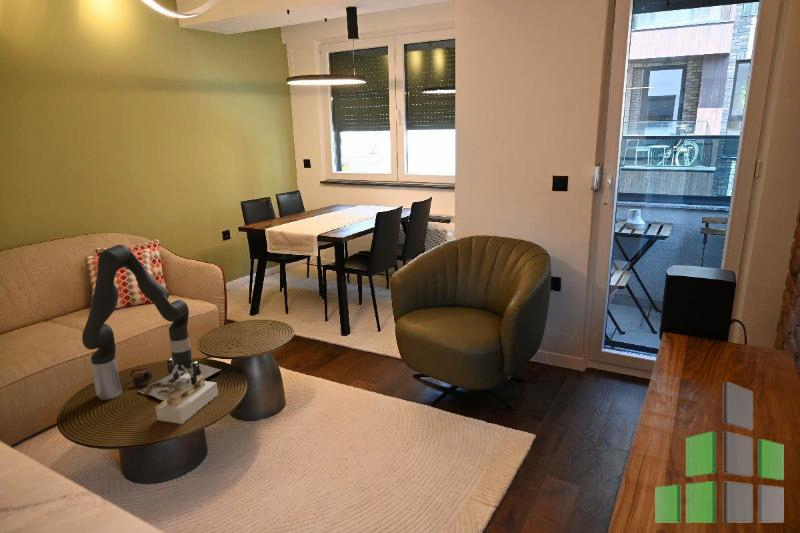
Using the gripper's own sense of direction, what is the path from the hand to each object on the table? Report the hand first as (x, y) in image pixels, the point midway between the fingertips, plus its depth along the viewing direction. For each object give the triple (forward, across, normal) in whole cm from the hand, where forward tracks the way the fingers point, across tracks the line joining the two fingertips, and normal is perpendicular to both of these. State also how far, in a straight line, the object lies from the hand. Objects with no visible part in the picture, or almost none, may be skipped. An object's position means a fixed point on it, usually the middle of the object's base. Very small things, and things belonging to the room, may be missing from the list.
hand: (185, 382), depth 213 cm
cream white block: (+1, 0, +2) cm, 2 cm away
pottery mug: (+12, -36, +13) cm, 40 cm away
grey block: (+1, 0, -2) cm, 3 cm away
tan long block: (+5, 0, 0) cm, 5 cm away
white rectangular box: (+11, 0, 0) cm, 11 cm away
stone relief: (+12, -18, +18) cm, 28 cm away
